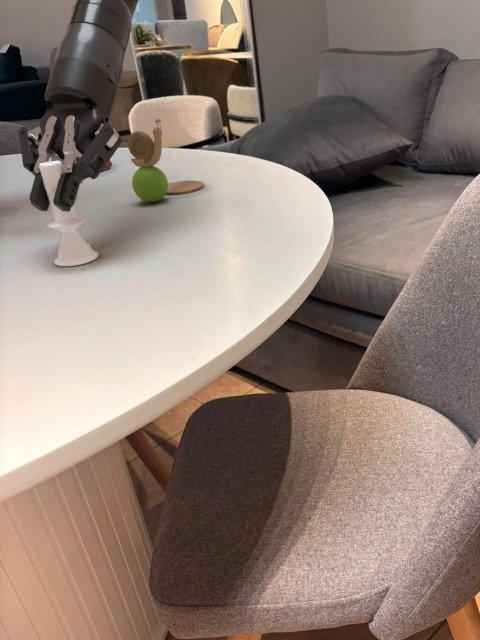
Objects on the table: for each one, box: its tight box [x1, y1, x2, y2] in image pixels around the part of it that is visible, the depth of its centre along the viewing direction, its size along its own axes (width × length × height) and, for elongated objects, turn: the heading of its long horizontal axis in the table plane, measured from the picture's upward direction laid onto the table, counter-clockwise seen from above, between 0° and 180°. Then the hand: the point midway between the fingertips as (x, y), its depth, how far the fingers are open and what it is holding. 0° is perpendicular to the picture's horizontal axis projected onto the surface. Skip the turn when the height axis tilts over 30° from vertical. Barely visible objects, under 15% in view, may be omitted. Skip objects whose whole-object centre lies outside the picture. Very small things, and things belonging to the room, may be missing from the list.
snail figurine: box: [127, 118, 169, 203], centre depth 97 cm, size 5×6×12 cm
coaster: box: [165, 180, 205, 196], centre depth 107 cm, size 8×8×1 cm
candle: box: [39, 158, 100, 267], centre depth 75 cm, size 5×5×12 cm
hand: (50, 207), depth 73 cm, fingers closed on candle, 2 cm apart
